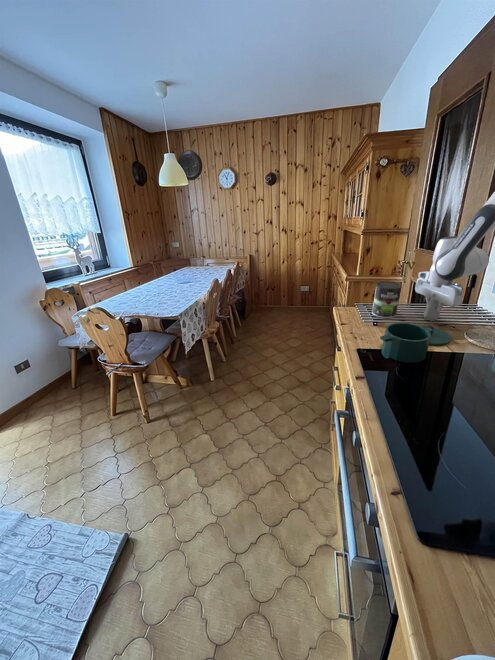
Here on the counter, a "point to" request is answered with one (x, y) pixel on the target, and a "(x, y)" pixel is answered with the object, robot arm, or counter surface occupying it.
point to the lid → (438, 336)
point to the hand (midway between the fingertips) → (432, 308)
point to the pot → (406, 342)
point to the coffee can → (386, 299)
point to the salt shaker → (432, 309)
